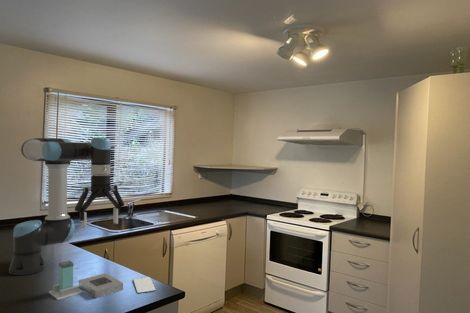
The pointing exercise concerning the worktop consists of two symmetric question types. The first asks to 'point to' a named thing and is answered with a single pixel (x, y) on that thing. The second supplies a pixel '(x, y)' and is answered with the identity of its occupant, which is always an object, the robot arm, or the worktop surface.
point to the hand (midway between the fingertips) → (100, 225)
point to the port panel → (100, 285)
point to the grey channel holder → (64, 292)
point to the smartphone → (144, 285)
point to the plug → (65, 275)
